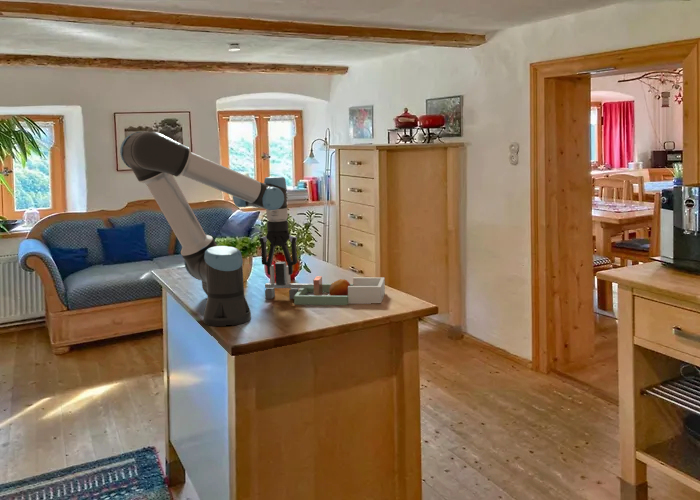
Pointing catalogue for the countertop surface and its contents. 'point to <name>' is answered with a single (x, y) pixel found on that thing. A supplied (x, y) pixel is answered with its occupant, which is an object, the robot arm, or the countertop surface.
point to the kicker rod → (282, 283)
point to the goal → (366, 290)
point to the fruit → (339, 288)
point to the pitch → (310, 296)
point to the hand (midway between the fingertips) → (280, 283)
